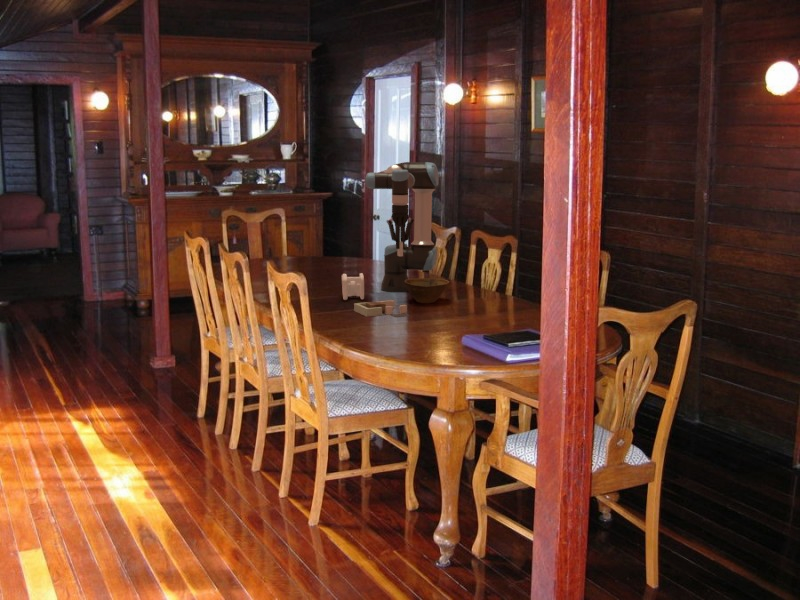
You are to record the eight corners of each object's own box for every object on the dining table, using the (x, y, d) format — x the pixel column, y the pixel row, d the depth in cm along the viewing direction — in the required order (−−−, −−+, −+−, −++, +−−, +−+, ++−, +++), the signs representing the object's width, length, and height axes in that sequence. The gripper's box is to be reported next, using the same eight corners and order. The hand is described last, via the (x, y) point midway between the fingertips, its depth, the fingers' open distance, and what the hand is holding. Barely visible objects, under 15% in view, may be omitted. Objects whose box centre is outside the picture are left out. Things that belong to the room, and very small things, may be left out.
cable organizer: (364, 301, 442) (364, 277, 440) (342, 301, 441) (342, 277, 439) (363, 295, 457) (363, 272, 455) (341, 295, 456) (341, 272, 454)
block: (380, 311, 420) (380, 301, 419) (385, 313, 414) (385, 303, 414) (366, 312, 417) (366, 302, 416) (371, 315, 412) (371, 305, 411)
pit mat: (404, 314, 414) (404, 313, 414) (409, 316, 409) (409, 315, 409) (390, 316, 411) (390, 314, 411) (395, 318, 406) (395, 317, 406)
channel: (393, 307, 427) (393, 300, 427) (406, 312, 415) (406, 305, 414) (373, 309, 423) (373, 301, 422) (386, 314, 411) (386, 307, 410)
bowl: (456, 299, 447) (457, 279, 446) (438, 307, 427) (438, 286, 425) (415, 295, 456) (415, 275, 455) (395, 303, 436) (396, 282, 434)
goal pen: (369, 309, 422) (369, 302, 421) (382, 315, 410) (382, 307, 409) (354, 311, 419) (354, 303, 418) (366, 316, 407) (366, 309, 406)
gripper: (409, 203, 423) (409, 254, 427) (383, 204, 417) (383, 255, 422) (416, 204, 416) (416, 256, 421) (390, 205, 411) (390, 257, 415)
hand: (400, 255), depth 421 cm, fingers closed
